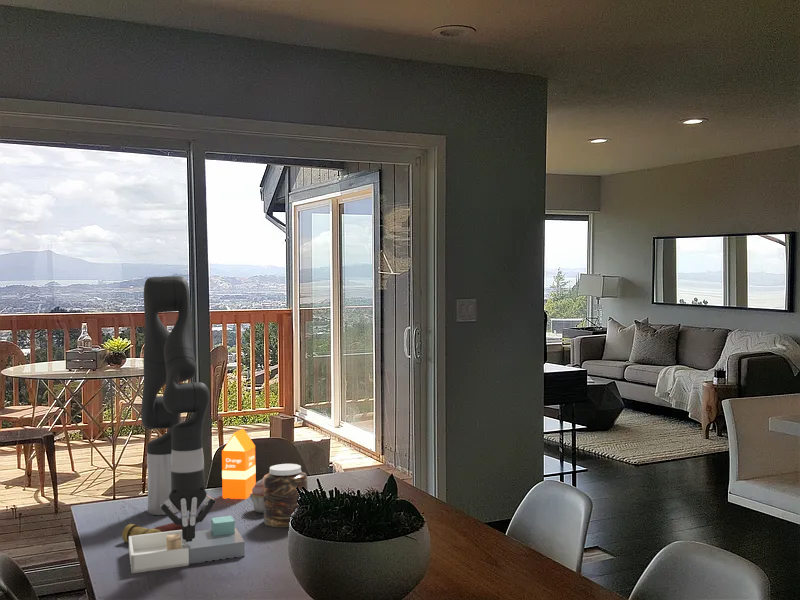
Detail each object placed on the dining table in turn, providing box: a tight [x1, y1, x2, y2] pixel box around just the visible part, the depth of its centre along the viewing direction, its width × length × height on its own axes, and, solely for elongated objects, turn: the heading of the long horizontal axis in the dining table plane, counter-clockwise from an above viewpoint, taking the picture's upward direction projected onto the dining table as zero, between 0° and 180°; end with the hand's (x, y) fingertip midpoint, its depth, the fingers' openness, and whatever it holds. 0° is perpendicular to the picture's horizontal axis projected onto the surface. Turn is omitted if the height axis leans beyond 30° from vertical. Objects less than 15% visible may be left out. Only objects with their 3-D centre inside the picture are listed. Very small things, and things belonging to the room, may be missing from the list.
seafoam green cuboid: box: [210, 515, 236, 536], centre depth 191 cm, size 5×5×3 cm
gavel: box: [121, 518, 198, 544], centre depth 200 cm, size 21×5×10 cm
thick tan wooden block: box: [166, 534, 181, 550], centre depth 180 cm, size 5×5×3 cm
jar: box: [263, 463, 309, 528], centre depth 210 cm, size 12×12×15 cm
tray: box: [128, 530, 190, 574], centre depth 182 cm, size 15×12×4 cm
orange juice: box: [221, 428, 257, 500], centre depth 238 cm, size 8×9×20 cm
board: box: [182, 526, 246, 565], centre depth 186 cm, size 13×13×4 cm
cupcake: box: [249, 476, 264, 514], centre depth 221 cm, size 9×9×10 cm
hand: (188, 540), depth 181 cm, fingers closed
